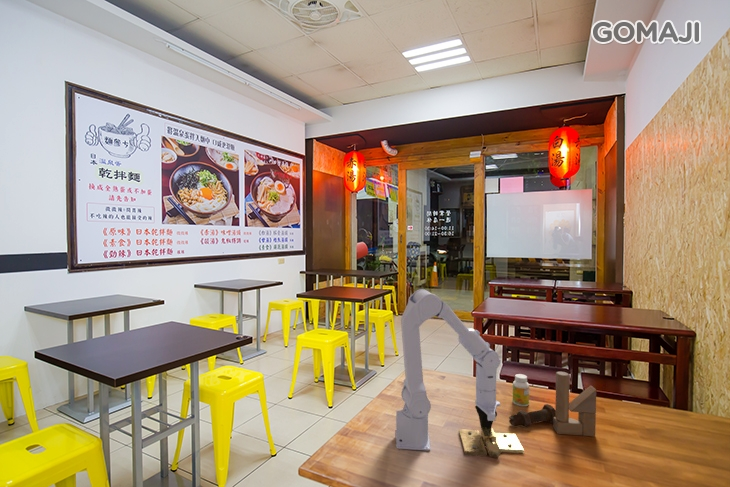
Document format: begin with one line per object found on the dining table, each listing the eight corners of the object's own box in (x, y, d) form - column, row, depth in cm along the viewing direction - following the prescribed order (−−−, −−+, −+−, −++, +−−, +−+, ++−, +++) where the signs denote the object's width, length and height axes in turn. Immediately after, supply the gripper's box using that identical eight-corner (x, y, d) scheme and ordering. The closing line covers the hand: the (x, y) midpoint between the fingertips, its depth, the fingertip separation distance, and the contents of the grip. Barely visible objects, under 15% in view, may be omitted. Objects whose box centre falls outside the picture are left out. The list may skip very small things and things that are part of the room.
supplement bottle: (509, 401, 131) (509, 374, 131) (520, 398, 133) (520, 372, 133) (521, 407, 126) (521, 380, 126) (532, 404, 128) (532, 377, 128)
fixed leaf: (465, 456, 99) (465, 444, 99) (458, 432, 111) (458, 422, 111) (500, 458, 98) (500, 446, 98) (490, 434, 110) (490, 423, 110)
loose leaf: (486, 451, 101) (486, 440, 101) (480, 435, 109) (480, 424, 109) (523, 453, 100) (524, 442, 100) (515, 436, 108) (515, 426, 108)
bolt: (509, 431, 115) (550, 423, 118) (518, 431, 110) (560, 423, 114) (503, 411, 117) (543, 404, 121) (512, 410, 113) (553, 403, 117)
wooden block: (595, 437, 108) (596, 377, 107) (557, 434, 110) (558, 375, 109) (590, 430, 112) (591, 372, 111) (552, 427, 113) (553, 370, 113)
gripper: (506, 399, 101) (506, 447, 101) (493, 378, 115) (493, 420, 116) (480, 398, 102) (480, 445, 102) (471, 377, 116) (470, 419, 116)
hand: (485, 432), depth 109 cm, fingers closed
